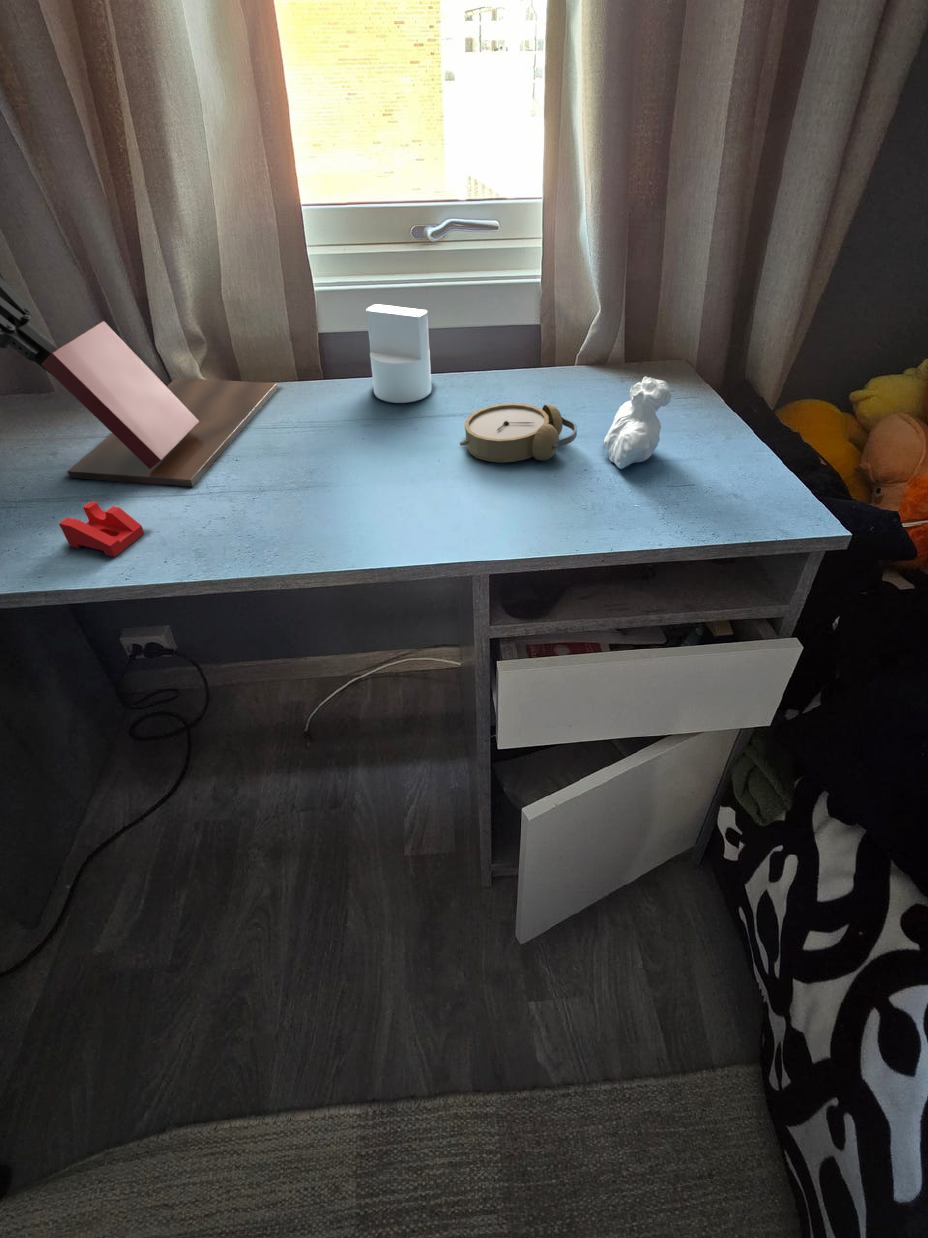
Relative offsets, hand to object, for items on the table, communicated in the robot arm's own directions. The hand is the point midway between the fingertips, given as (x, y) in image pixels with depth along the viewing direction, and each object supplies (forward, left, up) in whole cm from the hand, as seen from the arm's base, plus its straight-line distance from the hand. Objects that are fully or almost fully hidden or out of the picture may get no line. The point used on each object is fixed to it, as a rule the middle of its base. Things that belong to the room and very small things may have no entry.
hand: (67, 371), depth 87 cm
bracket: (-3, -23, -11) cm, 26 cm away
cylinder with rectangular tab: (+44, -5, -11) cm, 46 cm away
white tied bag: (+60, -40, -11) cm, 73 cm away
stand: (+12, +1, -11) cm, 16 cm away
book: (+9, -8, -9) cm, 15 cm away
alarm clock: (+49, -30, -11) cm, 59 cm away
